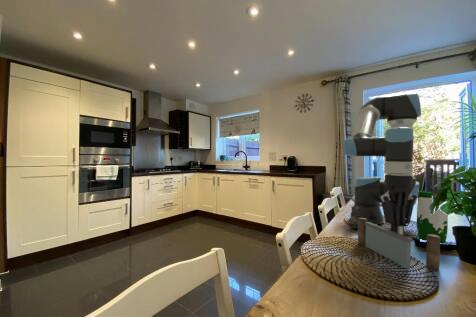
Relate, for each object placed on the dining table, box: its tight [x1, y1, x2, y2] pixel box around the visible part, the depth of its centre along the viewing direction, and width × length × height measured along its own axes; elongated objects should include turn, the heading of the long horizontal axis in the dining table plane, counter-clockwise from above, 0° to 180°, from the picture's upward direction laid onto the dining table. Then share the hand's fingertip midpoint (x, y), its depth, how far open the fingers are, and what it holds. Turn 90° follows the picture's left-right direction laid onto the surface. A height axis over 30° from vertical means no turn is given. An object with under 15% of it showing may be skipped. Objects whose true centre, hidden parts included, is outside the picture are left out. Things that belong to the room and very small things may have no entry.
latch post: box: [425, 234, 441, 272], centre depth 65 cm, size 3×3×10 cm
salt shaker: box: [347, 205, 359, 233], centre depth 98 cm, size 6×6×12 cm
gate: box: [365, 222, 413, 269], centre depth 72 cm, size 16×2×9 cm, turn 11°
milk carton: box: [416, 190, 449, 244], centre depth 85 cm, size 9×9×20 cm
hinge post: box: [357, 218, 367, 247], centre depth 82 cm, size 3×3×10 cm
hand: (397, 244), depth 71 cm, fingers closed
